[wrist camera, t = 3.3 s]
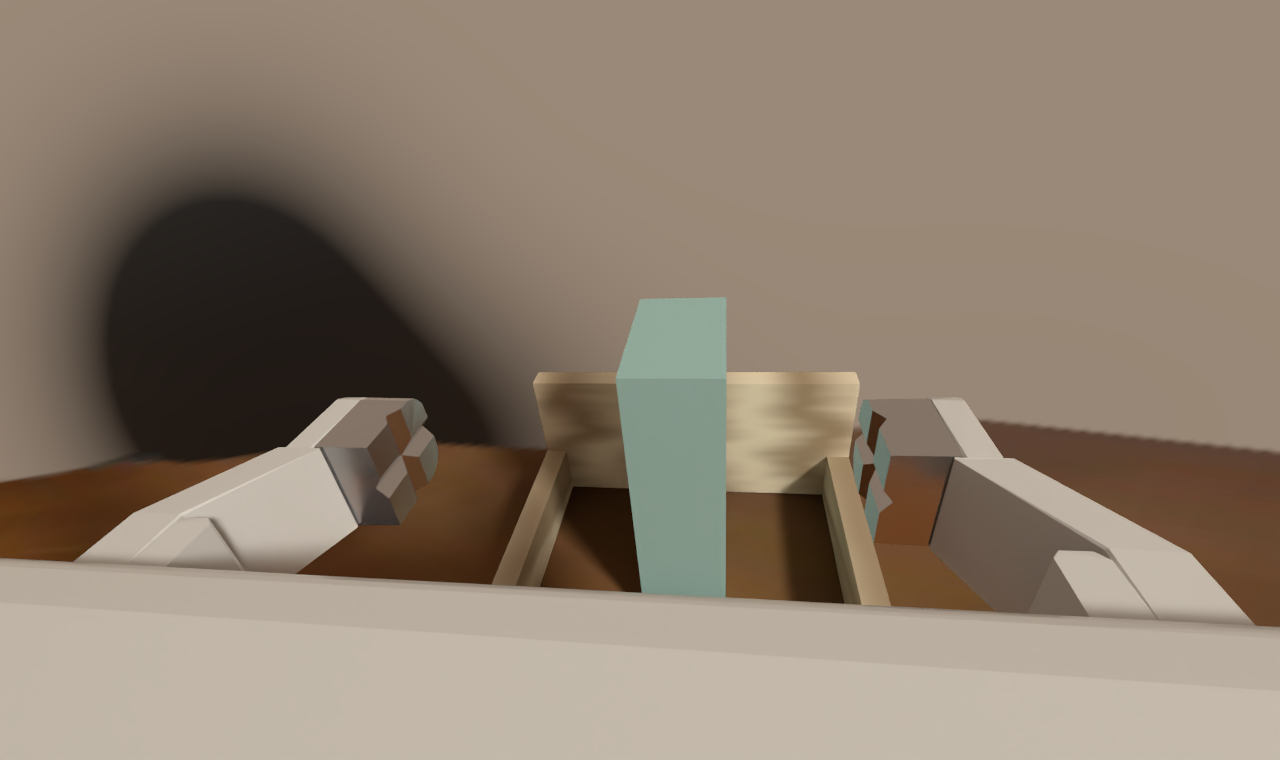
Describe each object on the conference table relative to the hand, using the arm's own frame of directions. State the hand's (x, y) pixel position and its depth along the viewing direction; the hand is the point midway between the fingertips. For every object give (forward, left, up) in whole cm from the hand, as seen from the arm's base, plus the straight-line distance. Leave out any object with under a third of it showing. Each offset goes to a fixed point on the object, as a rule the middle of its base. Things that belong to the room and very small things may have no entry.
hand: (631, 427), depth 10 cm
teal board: (0, +12, -18) cm, 22 cm away
